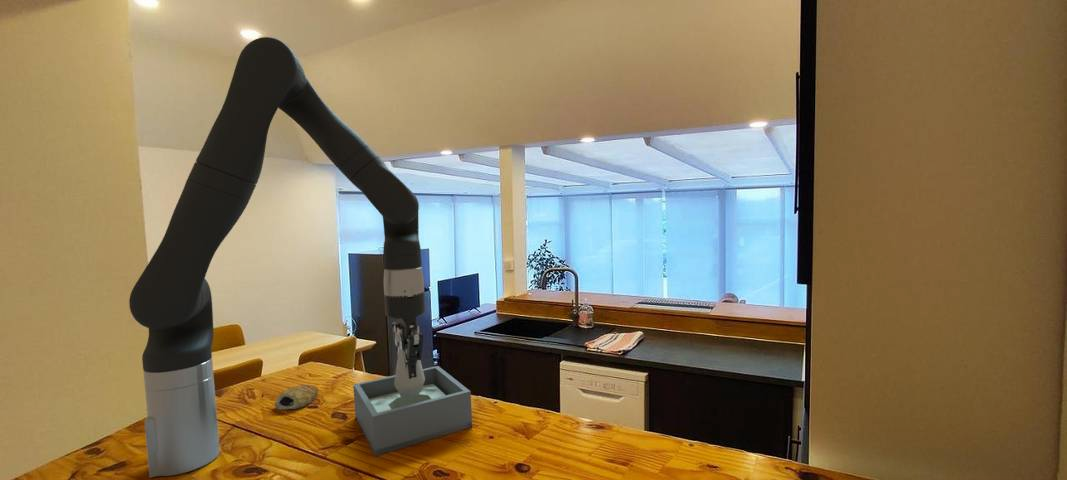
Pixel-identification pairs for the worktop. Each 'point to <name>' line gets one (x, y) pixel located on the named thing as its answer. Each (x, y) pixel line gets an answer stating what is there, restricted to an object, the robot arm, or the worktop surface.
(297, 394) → the ridged seashell
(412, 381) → the salt shaker
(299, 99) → the robot arm
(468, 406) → the bore box
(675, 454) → the worktop surface
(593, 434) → the worktop surface
